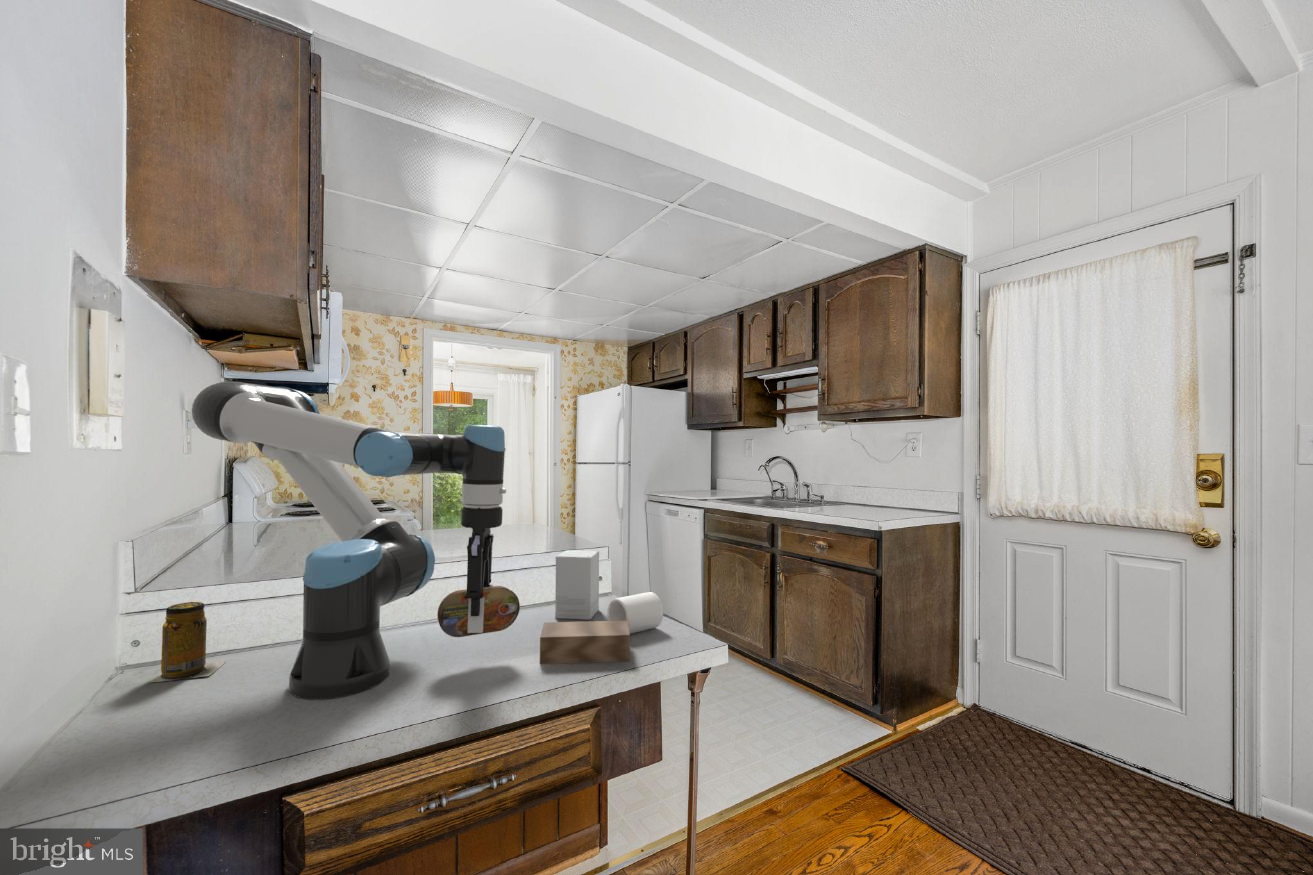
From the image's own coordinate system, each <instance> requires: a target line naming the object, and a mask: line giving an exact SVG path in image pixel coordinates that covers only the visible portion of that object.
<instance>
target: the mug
mask: <svg viewBox="0 0 1313 875" xmlns="http://www.w3.org/2000/svg"><path fill="white" fill-rule="evenodd" d="M663 619H664V606H663V603H662V601H661V599H660V597H659V596H658V595H657V594H656V593H654V592H651V591H649V592H648V591H647V592H643V593H642V592H641V593H636V594H631V595H627V596H622V597H617V598H613V599H612V600H611V601H610V602H609V604H608V607H607V621H627V624H628V629H629V633H630V635H631V634H635V633H639V632H643V631H648V630H652V629H656V628H658V627H659V626H661V624H662V622H663Z"/></svg>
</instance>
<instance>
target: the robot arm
mask: <svg viewBox="0 0 1313 875" xmlns="http://www.w3.org/2000/svg"><path fill="white" fill-rule="evenodd" d="M191 416H192V419H193V422H194V424H195V425H196V427H197V428H198V429H199V430H200V431H201V432H202V433H203V434H205V435H206V436H208V437H210V438H213V439H215V440H220V441H225V442H226V441H227V442H230V443H231V442H232V443H236V444H241V445H242V444H243V445H244V444H248V443H252V444H254V445H255V447H256V448H257V449H258V450H259V452H260V453H262V455H263V456H264V457H265V458H266V459H268V460H270V461H274V460H275V461H278V462H279V463H280V464H281V466H282V467H283V468H284V470H286V472H287V473H288V475H290V477H291V479H293V481H294V483H295V484H297V486H298V487H299V489H300V490H301V492H302V493H303V494H304V495H305V496H306V498H307V499H308V500H309V501H310V502H311V504H312V505H313V506H314V508H315V509H316V510H317V511H318V513H319V514H320V516H322V518H323V519H324V520H325V522H326V523H327V524H328V525H329V527H330V528H331V530H332V531H333V532H334V533H335V535H336V536H337V537H338V539H339V540H340V541H336V542H331V543H328V544H325V545H322V546H319V547H317V548H315V549H313V550H312V551H311V552H310V553H309V554H308V556H307V557H306V558H305V566H304V572H303V576H302V581H303V602H302V604H303V609H302V610H303V613H302V615H303V616H302V617H303V618H302V620H303V622H302V629H303V630H302V642H301V645H300V648H299V650H298V652H297V654H296V657H295V660H294V662H293V666H292V668H291V671H290V674H289V678H288V679H289V680H288V681H289V684H288V690H289V693H290V694H291V695H294V696H295V697H298V698H302V699H308V700H309V699H310V700H312V699H315V700H318V699H319V700H320V699H333V698H339V697H344V696H349V695H353V694H356V693H361V692H363V691H367V690H369V689H371V688H373V687H375V686H377V685H379V684H381V683H382V682H384V681H385V680H386V679H387V678H388V677H389V675H390V664H391V662H390V657H389V655H388V651H387V649H386V646H385V643H384V640H383V637H382V634H381V630H380V625H381V624H380V623H381V622H380V616H381V615H380V614H381V607H383V606H385V605H387V604H390V603H392V602H393V603H394V602H395V601H397V600H399V599H402V598H406V597H409V596H411V595H414V594H415V593H416V592H418V591H419V590H421V589H423V588H424V587H425V586H426V585H427V584H428V583H430V580H431V578H432V577H433V574H434V571H435V563H436V556H435V552H434V549H433V547H432V545H431V543H429V541H428V539H425V538H424V537H423V536H421V535H417V534H411V533H409V534H408V533H407V531H406V530H405V528H403V526H402V525H401V524H400V523H399V522H398V520H397V519H396V520H395V519H386V518H385V517H384V516H383V515H382V513H381V512H380V510H378V508H377V506H375V504H373V501H371V500H370V498H369V497H368V496H367V495H366V494H365V492H364V490H362V488H361V487H360V486H359V484H358V483H357V482H356V481H355V480H354V479H353V477H352V476H351V475H350V474H349V472H348V471H347V470H346V468H345V467H344V466H343V465H342V464H345V465H349V466H353V467H358V468H359V469H360V470H362V471H363V472H364V473H365V474H366V475H369V476H372V477H382V478H383V477H384V478H391V477H392V478H393V477H395V476H409V475H424V474H426V475H427V474H457V475H458V474H459V475H461V474H462V485H461V486H462V487H461V488H462V490H461V503H462V505H464V506H462V508H461V516H460V518H461V519H460V520H461V521H460V525H461V526H462V527H463V528H467V529H472V532H471V536H469V537H468V543H467V546H466V551H467V570H466V572H467V573H466V590H467V593H466V595H464V598H469V605H468V632H467V633H483V622H484V597H483V595H484V594H483V588H484V587H492V586H494V584H491V583H492V562H493V543H494V539H495V538H494V537H495V536H494V533H491V531H492V530H491V529H493V528H498V527H501V526H502V524H503V507H502V506H500V505H502V504H503V502H504V501H503V499H504V494H506V493H507V489H506V488H503V487H504V471H505V470H504V468H505V452H506V447H505V446H506V444H505V443H506V442H505V440H506V439H505V437H506V436H505V431H504V428H503V427H502V426H498V425H487V424H486V425H484V424H483V425H481V424H479V425H478V424H468V425H466V426H465V427H464V432H463V434H441V433H440V434H437V433H418V432H415V433H413V432H408V433H407V432H400V431H394V430H390V429H387V428H382V427H376V426H372V425H368V424H363V423H359V422H355V421H351V420H346V419H342V418H337V417H333V416H329V415H325V414H320V409H319V408H318V405H317V403H316V402H315V401H314V399H312V397H311V396H309V395H308V394H306V393H305V392H304V391H301V390H297V389H293V388H290V387H286V386H271V385H270V386H269V385H265V384H264V385H263V384H257V383H250V382H249V383H248V382H241V381H231V380H230V381H229V380H228V381H221V382H216V383H212V384H211V385H208V386H207V387H205V388H204V389H203V390H201V391H200V392H199V393H198V394H197V395H196V397H195V398H194V400H193V403H192V407H191ZM483 634H484V633H483Z"/></svg>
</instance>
